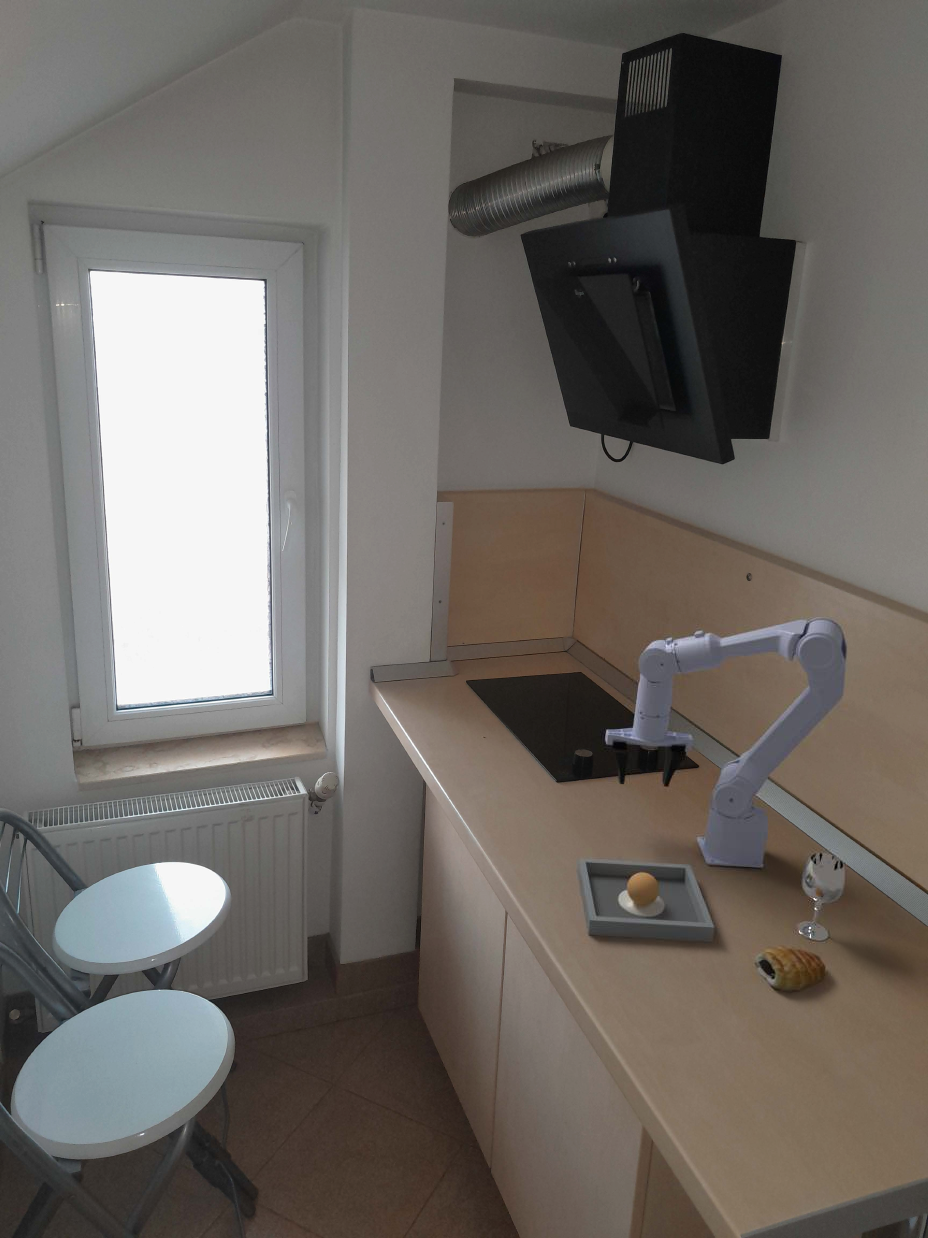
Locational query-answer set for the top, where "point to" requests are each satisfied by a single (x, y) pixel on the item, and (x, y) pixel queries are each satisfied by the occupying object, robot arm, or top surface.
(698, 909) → the grey serving tray
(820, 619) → the robot arm
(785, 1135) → the top surface
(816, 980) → the pastry
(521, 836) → the top surface
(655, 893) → the ball
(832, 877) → the wineglass
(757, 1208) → the top surface
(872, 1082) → the top surface
